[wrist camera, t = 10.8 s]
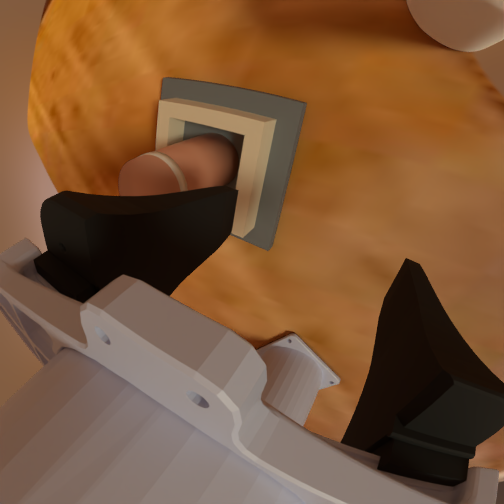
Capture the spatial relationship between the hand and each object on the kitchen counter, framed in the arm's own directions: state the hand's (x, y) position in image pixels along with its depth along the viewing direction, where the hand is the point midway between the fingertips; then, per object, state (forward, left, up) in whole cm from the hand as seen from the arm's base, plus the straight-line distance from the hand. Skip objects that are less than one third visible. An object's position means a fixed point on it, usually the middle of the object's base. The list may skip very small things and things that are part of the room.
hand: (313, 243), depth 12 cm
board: (-7, +8, -10) cm, 15 cm away
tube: (-7, +8, -10) cm, 14 cm away
